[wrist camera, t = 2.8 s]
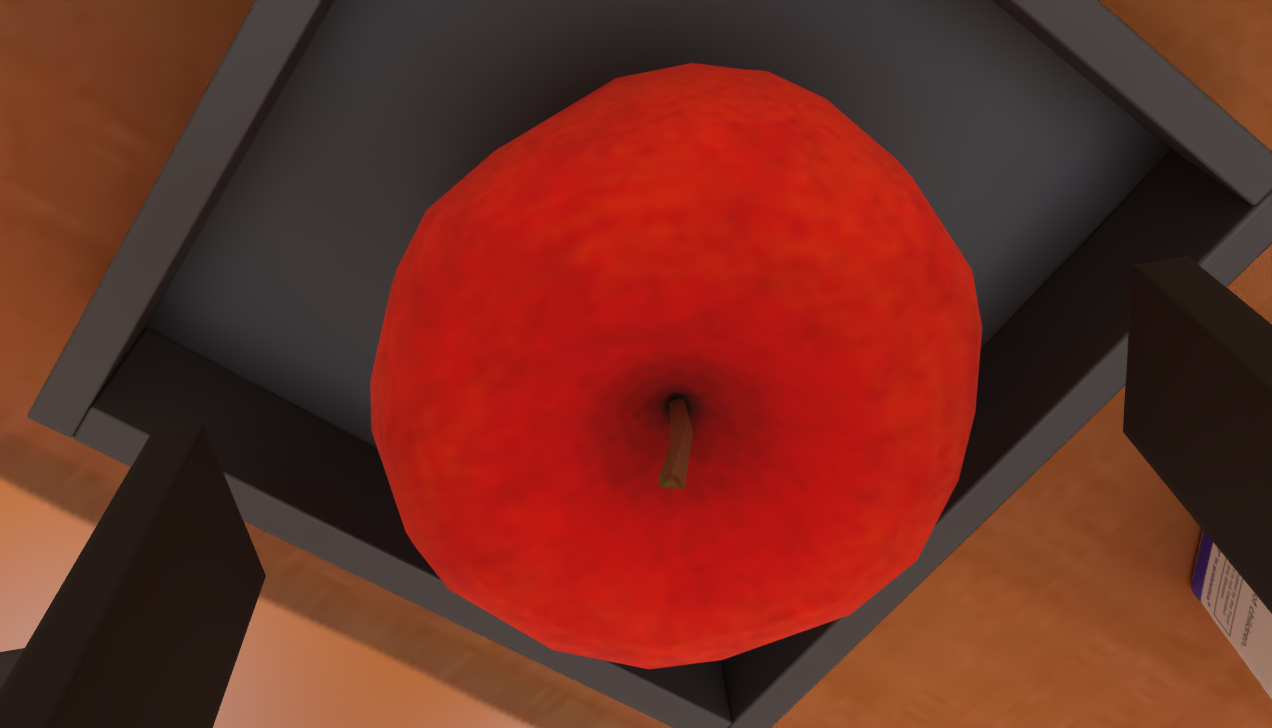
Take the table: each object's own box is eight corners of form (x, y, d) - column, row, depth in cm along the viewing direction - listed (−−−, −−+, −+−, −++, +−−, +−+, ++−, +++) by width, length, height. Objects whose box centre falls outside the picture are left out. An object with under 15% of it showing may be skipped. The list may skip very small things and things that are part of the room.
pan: (100, 322, 23) (25, 417, 19) (534, -458, 17) (528, -500, 14) (719, 643, 28) (739, 760, 24) (1214, 129, 22) (1324, 196, 19)
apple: (603, -113, 19) (627, -22, 12) (978, 187, 22) (1171, 398, 15) (328, 290, 22) (221, 546, 15) (687, 503, 25) (734, 798, 18)
